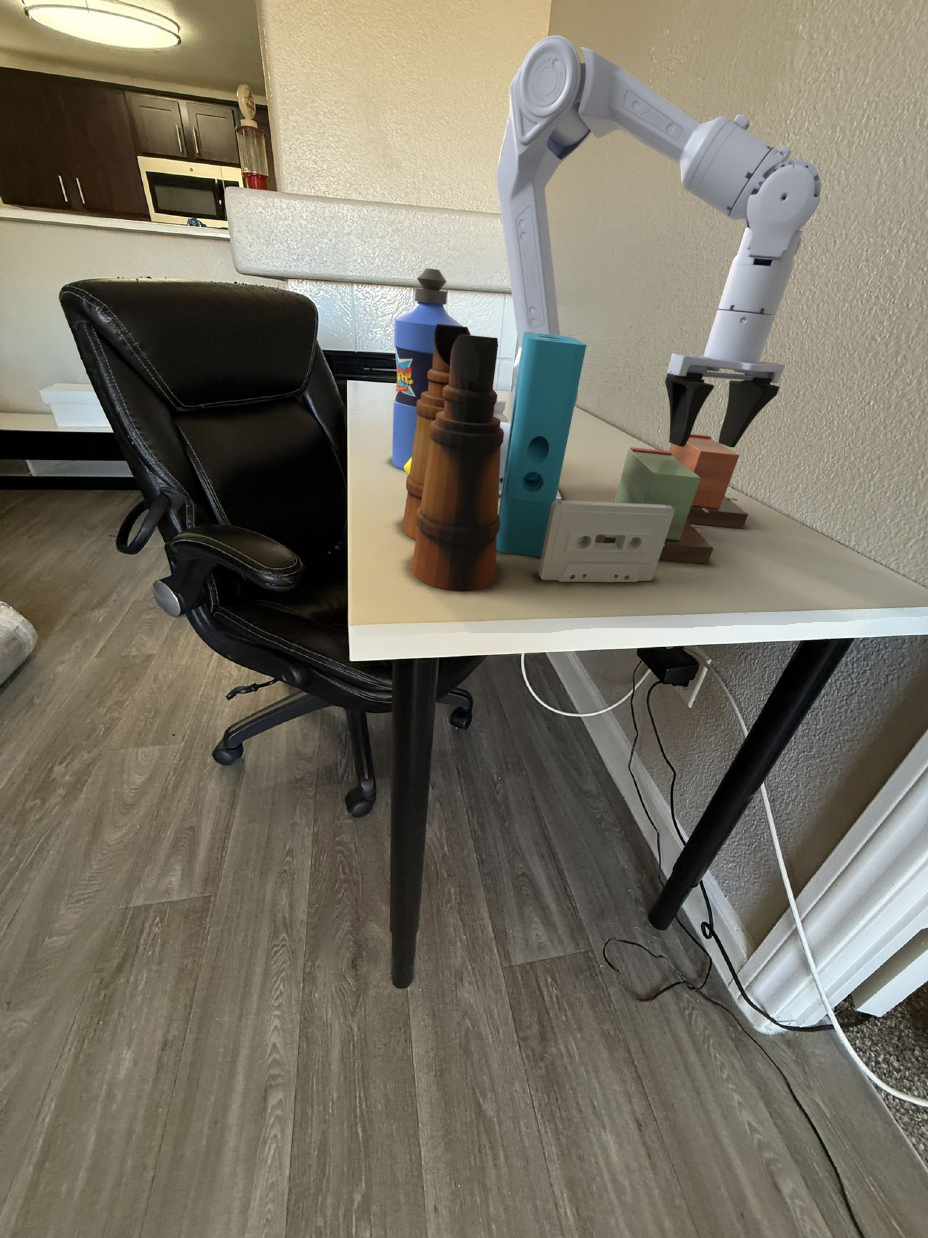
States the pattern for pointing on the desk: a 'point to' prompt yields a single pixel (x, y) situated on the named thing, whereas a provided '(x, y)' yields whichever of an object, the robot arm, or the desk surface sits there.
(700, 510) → the back stand
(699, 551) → the front stand
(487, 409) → the binoculars
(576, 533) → the cassette
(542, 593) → the desk surface
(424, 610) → the desk surface
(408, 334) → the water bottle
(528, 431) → the block
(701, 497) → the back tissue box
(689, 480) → the green box
